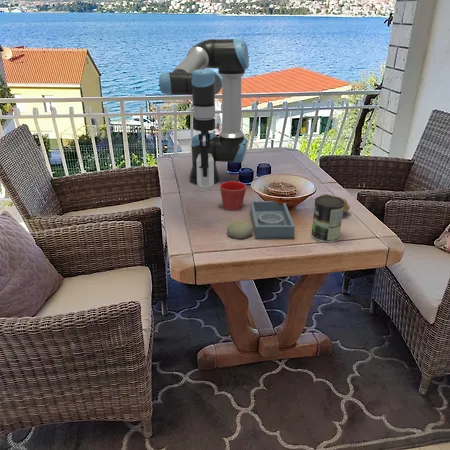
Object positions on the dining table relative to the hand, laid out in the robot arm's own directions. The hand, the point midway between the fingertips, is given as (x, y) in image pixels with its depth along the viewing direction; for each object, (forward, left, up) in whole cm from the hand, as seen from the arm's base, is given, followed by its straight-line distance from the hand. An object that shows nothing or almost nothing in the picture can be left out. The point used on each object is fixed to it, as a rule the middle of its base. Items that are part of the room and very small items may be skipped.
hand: (205, 181), depth 150 cm
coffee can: (+10, +44, -18) cm, 49 cm away
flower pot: (-18, +11, -18) cm, 28 cm away
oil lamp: (-12, +52, -18) cm, 56 cm away
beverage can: (0, 0, -2) cm, 2 cm away
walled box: (0, +25, -18) cm, 31 cm away
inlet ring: (0, +25, -18) cm, 31 cm away
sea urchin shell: (+8, +12, -18) cm, 24 cm away
